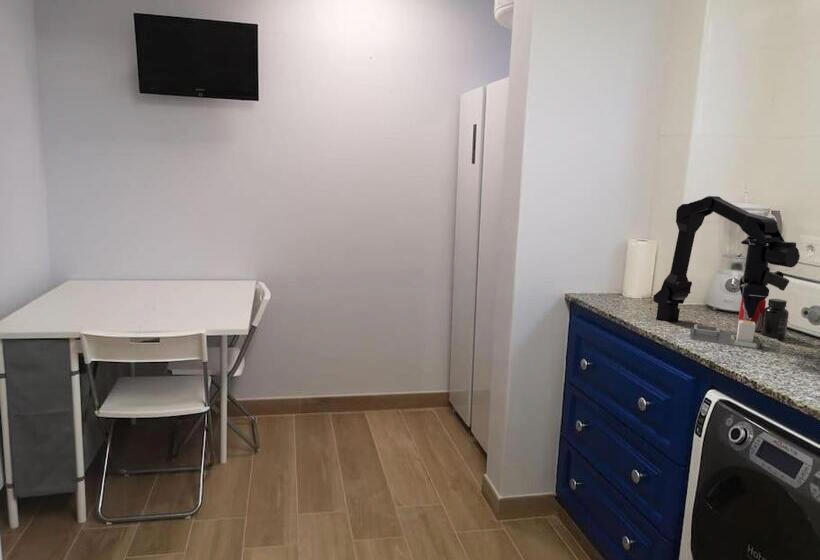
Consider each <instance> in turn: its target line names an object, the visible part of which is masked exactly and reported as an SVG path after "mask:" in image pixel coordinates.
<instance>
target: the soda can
mask: <svg viewBox="0 0 820 560" xmlns="http://www.w3.org/2000/svg"><path fill="white" fill-rule="evenodd" d="M766 303H767V300H766V299H763V300H762V301H760V302H759V305H758V307H757V309H756V311H755V314H754V316H753V318H749V317H748V314H747V311H746V310H745V306H744V302H743V299H742V298H741V300H740V305H739V312H738V319H737V320H738V321H737V324H738V323H739V320H744V321H752V322H755V332H761V326H762V319H763V312H764V309H765V308H766V305H767V304H766Z"/></svg>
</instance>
